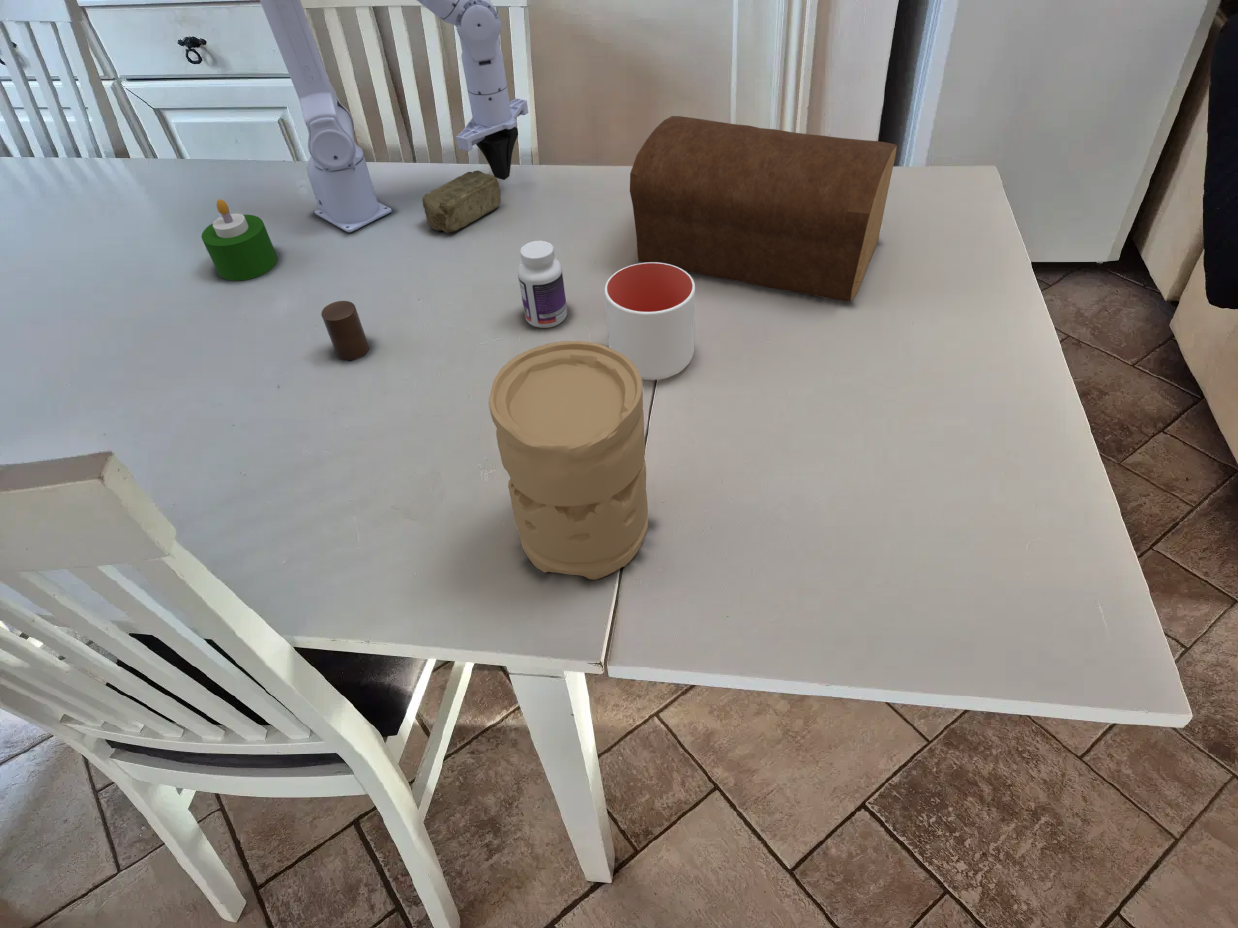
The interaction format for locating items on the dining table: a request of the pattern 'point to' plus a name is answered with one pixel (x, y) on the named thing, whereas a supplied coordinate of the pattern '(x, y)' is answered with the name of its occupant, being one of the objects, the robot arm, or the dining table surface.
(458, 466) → the dining table surface
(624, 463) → the container
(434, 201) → the stone block
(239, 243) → the candle
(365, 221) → the robot arm
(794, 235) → the bread
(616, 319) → the cup
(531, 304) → the pill bottle
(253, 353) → the dining table surface
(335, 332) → the post
